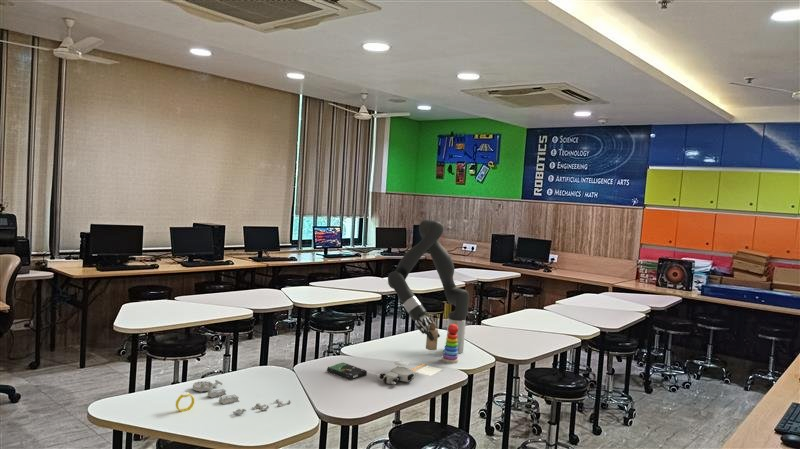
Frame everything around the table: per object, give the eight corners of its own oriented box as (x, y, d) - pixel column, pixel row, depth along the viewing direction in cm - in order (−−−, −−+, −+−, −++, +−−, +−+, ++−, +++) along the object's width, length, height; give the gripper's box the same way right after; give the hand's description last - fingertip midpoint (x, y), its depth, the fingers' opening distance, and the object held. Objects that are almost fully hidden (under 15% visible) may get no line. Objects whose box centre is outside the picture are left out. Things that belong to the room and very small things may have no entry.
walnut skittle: (428, 346, 248) (430, 321, 248) (438, 348, 246) (440, 323, 245) (423, 348, 244) (425, 322, 243) (433, 350, 241) (435, 324, 241)
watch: (178, 414, 181) (177, 397, 180) (174, 411, 183) (174, 395, 182) (195, 409, 185) (195, 392, 185) (191, 406, 187) (191, 390, 187)
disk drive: (366, 376, 234) (342, 367, 243) (367, 370, 233) (342, 361, 242) (350, 382, 225) (326, 372, 234) (351, 375, 225) (326, 366, 234)
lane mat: (398, 358, 261) (398, 357, 261) (444, 369, 249) (444, 368, 249) (382, 365, 248) (382, 364, 248) (430, 378, 236) (430, 376, 236)
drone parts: (243, 379, 221) (244, 371, 221) (293, 407, 197) (293, 398, 197) (188, 389, 204) (189, 380, 204) (235, 420, 180) (236, 411, 180)
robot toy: (394, 391, 219) (419, 381, 230) (394, 380, 219) (419, 371, 229) (374, 382, 228) (399, 373, 238) (374, 372, 227) (399, 363, 238)
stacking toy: (453, 365, 257) (456, 326, 256) (438, 361, 261) (441, 323, 260) (460, 361, 263) (463, 324, 263) (446, 358, 268) (449, 321, 267)
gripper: (412, 305, 241) (434, 336, 236) (427, 301, 254) (448, 331, 248) (401, 315, 244) (423, 346, 239) (416, 310, 257) (436, 340, 251)
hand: (435, 338), depth 244 cm, fingers closed on walnut skittle, 5 cm apart
